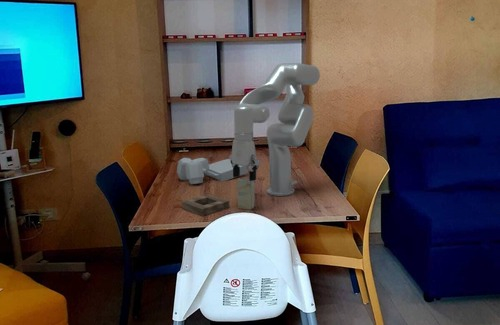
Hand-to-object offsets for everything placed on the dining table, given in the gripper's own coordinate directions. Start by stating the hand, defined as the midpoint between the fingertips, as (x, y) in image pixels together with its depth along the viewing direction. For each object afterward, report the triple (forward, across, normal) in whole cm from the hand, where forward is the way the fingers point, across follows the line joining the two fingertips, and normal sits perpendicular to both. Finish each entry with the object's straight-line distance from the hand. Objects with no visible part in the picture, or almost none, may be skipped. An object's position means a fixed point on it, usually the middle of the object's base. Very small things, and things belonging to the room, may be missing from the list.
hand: (244, 178), depth 197 cm
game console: (+12, -48, +22) cm, 54 cm away
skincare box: (+13, 0, +1) cm, 13 cm away
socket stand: (+13, -12, -11) cm, 21 cm away
